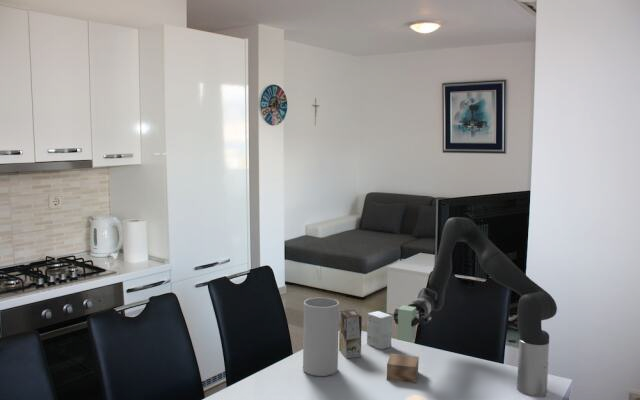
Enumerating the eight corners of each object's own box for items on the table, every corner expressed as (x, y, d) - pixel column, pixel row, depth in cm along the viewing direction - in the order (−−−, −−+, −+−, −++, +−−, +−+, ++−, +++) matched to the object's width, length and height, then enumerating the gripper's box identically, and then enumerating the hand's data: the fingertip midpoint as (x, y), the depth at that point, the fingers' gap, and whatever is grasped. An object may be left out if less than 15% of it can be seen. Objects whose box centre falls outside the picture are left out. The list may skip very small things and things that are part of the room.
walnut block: (418, 372, 202) (418, 356, 201) (415, 384, 192) (416, 367, 191) (390, 369, 204) (390, 353, 203) (386, 380, 194) (387, 363, 194)
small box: (391, 346, 227) (392, 315, 226) (380, 349, 223) (381, 318, 222) (377, 340, 233) (378, 310, 232) (366, 344, 229) (367, 313, 228)
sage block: (415, 337, 199) (416, 307, 197) (411, 341, 194) (411, 311, 193) (401, 335, 201) (402, 305, 200) (397, 339, 196) (398, 308, 195)
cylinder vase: (342, 367, 205) (344, 300, 203) (329, 379, 194) (330, 309, 191) (312, 361, 210) (313, 296, 208) (296, 373, 199) (297, 304, 197)
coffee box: (361, 356, 215) (362, 316, 214) (346, 358, 213) (346, 317, 212) (353, 348, 224) (354, 309, 222) (338, 350, 222) (338, 310, 220)
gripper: (400, 297, 212) (385, 309, 197) (438, 302, 206) (425, 315, 191) (400, 316, 213) (384, 329, 198) (437, 322, 207) (424, 336, 192)
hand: (404, 322), depth 194 cm, fingers closed on sage block, 5 cm apart
